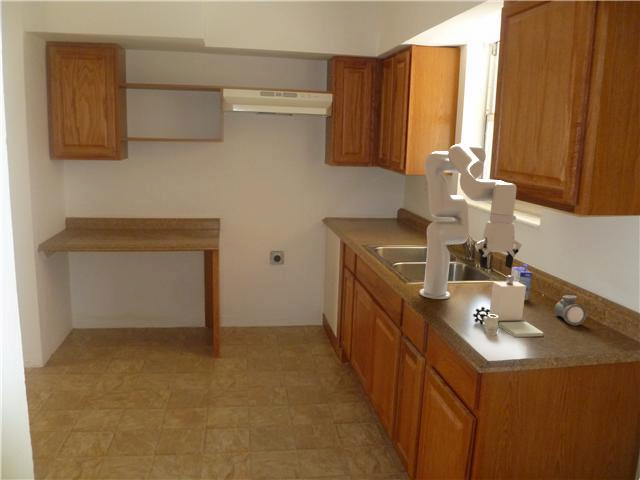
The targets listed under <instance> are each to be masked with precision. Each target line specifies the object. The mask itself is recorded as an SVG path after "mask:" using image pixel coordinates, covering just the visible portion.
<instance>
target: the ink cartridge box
mask: <svg viewBox="0 0 640 480" xmlns="http://www.w3.org/2000/svg"><path fill="white" fill-rule="evenodd" d="M528 266H529V265H527V264H526V263H523V265H521V266H519V267H518V266H512V268H511V273H510V275H511V276H514V280H513V282H519V283H521V284H523V285H525V286H526V292H525V299H524V301H529V294H530V289H531V281H532V276H533V272H531V271H529V270H527V268H528Z"/></svg>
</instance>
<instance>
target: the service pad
mask: <svg viewBox="0 0 640 480" xmlns="http://www.w3.org/2000/svg"><path fill="white" fill-rule="evenodd" d="M498 327H500V328H502V330H504V331H506V332H507V333H509V334H510V335H512V337H514V338H519V337H520V338H525V337H544V334H545V333H544V331H541V330H540V329H539V328H537V327H535V326H534V325H532V324H531V323H529V322H527V321H524V322H499V325H498Z"/></svg>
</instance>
